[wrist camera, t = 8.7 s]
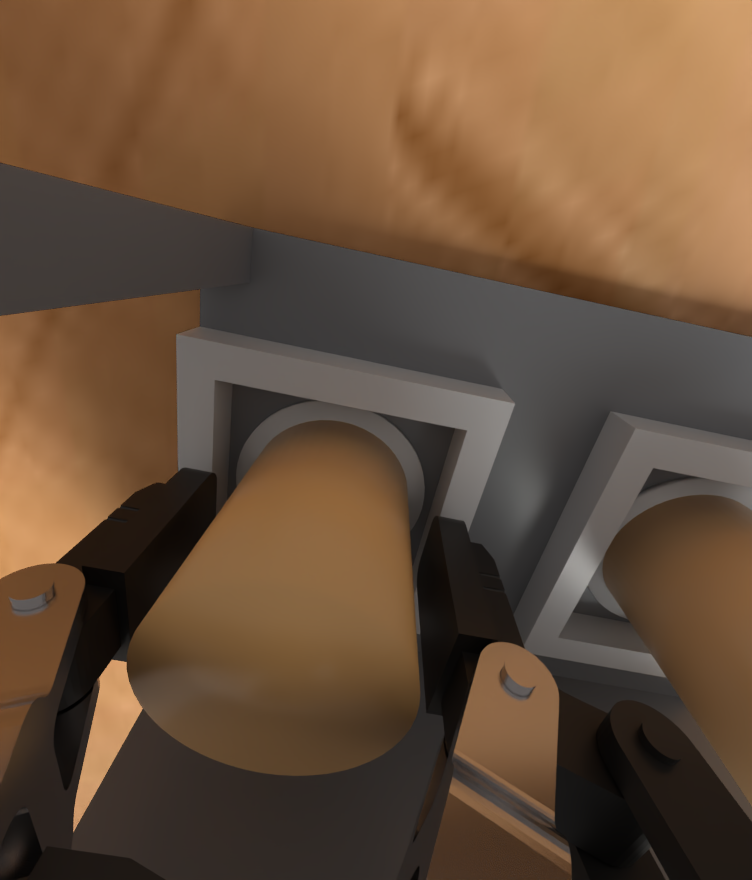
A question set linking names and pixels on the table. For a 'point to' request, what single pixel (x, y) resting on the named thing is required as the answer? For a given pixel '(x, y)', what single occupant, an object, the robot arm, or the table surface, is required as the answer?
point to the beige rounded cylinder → (292, 614)
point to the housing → (428, 494)
